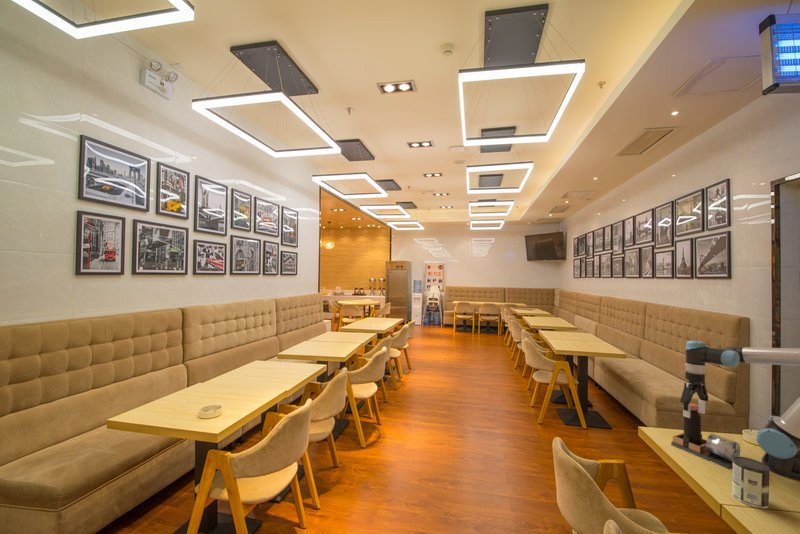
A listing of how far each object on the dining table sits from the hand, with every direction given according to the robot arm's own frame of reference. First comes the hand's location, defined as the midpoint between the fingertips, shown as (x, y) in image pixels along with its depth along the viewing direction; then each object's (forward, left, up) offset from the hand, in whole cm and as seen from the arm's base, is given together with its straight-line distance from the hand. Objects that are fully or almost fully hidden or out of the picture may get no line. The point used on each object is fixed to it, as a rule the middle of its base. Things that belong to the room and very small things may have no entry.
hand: (694, 415), depth 175 cm
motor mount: (-5, 0, -17) cm, 17 cm away
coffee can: (-31, +27, -17) cm, 45 cm away
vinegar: (0, 0, -15) cm, 15 cm away
